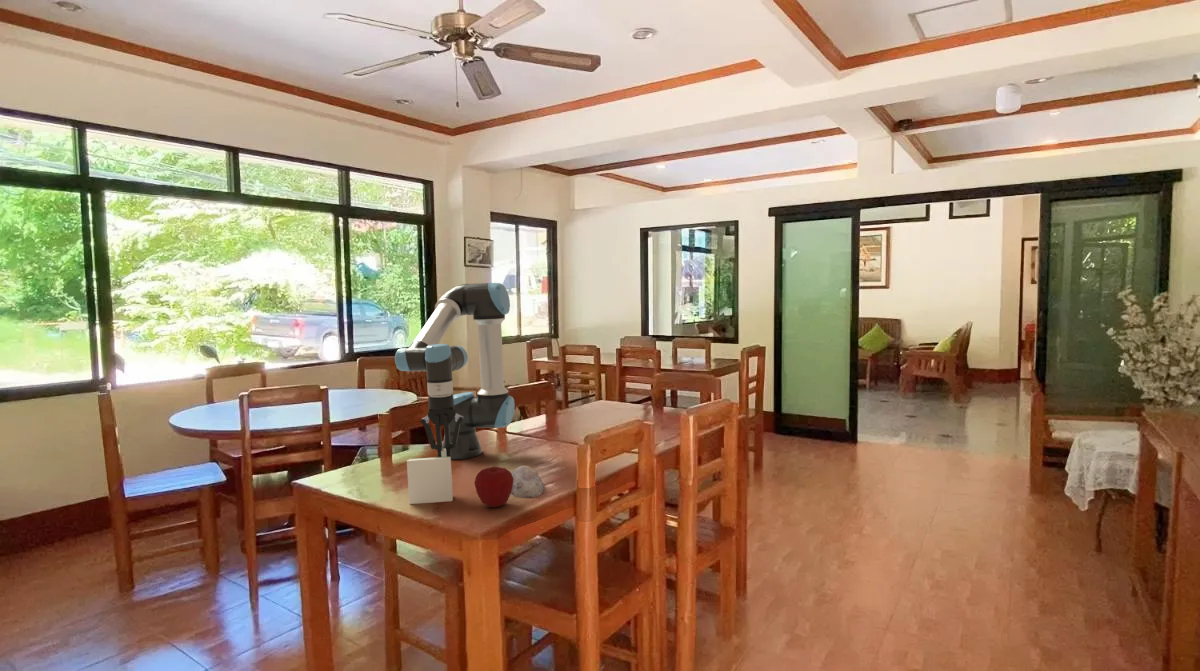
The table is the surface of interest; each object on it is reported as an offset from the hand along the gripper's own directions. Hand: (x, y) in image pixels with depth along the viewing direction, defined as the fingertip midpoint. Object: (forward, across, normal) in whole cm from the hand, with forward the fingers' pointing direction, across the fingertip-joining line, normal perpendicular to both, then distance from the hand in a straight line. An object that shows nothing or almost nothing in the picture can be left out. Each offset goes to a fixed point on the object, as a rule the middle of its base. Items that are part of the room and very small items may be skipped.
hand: (445, 470), depth 195 cm
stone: (+8, +24, -2) cm, 26 cm away
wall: (+7, -4, -8) cm, 11 cm away
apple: (+7, +16, -15) cm, 23 cm away
